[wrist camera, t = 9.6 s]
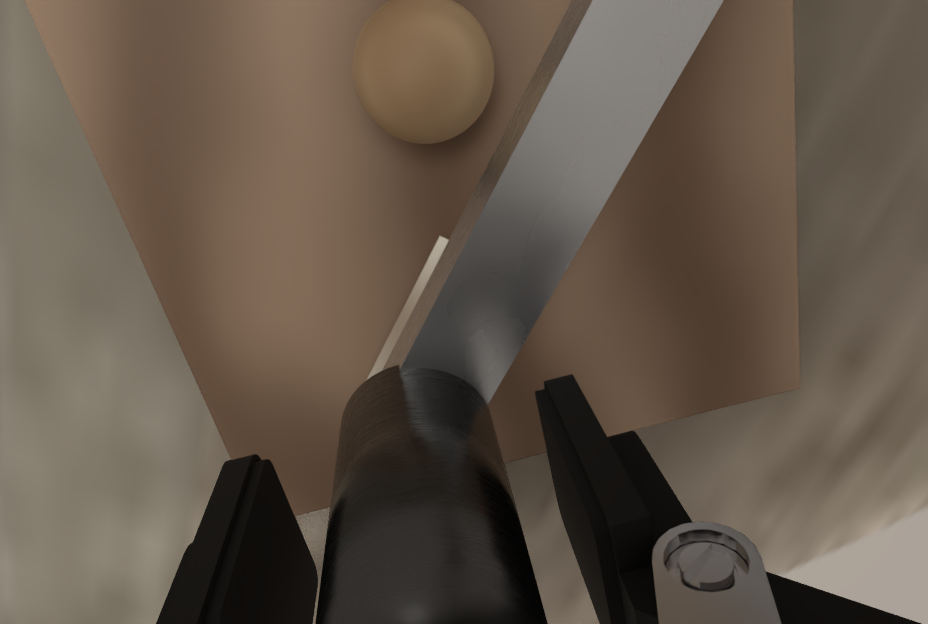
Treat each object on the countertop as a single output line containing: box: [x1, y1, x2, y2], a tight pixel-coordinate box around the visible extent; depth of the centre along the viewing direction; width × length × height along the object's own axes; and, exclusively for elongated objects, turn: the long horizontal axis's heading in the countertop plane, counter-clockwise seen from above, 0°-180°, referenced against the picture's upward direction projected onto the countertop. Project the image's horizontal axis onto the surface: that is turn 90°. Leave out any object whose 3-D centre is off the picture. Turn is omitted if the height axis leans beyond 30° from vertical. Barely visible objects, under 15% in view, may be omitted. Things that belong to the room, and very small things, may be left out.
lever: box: [316, 0, 724, 624], centre depth 9 cm, size 19×4×7 cm, turn 153°
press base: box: [25, 0, 800, 516], centre depth 16 cm, size 18×20×6 cm
